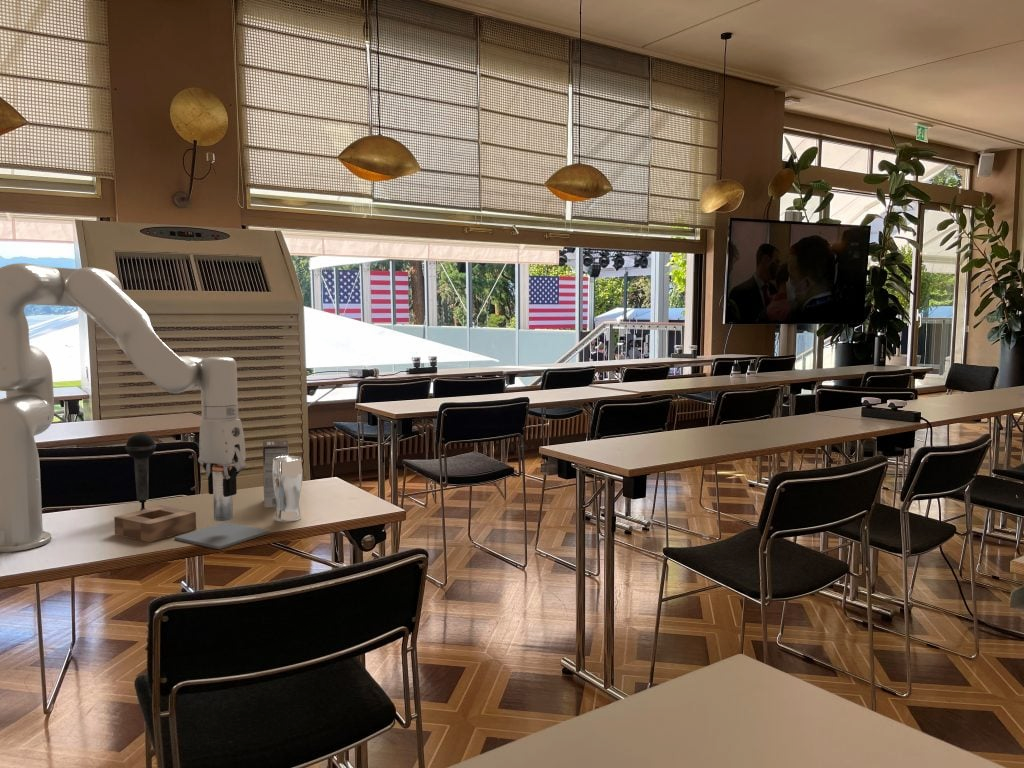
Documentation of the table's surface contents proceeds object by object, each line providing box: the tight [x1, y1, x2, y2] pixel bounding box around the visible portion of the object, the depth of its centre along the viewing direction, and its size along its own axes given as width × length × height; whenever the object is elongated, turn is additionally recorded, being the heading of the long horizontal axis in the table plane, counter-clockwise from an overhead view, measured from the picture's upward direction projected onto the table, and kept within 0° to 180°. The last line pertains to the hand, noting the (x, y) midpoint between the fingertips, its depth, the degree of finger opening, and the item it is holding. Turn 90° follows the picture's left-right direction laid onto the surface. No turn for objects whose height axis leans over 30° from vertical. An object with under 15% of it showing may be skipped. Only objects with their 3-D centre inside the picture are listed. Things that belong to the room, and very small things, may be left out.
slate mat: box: [174, 521, 270, 550], centre depth 169 cm, size 14×14×1 cm
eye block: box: [113, 505, 197, 543], centre depth 172 cm, size 12×12×4 cm
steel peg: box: [212, 465, 234, 522], centre depth 168 cm, size 4×4×12 cm
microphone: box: [124, 433, 157, 511], centre depth 187 cm, size 7×7×20 cm
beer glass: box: [273, 455, 303, 523], centre depth 183 cm, size 7×7×15 cm
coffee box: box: [262, 439, 290, 509], centre depth 199 cm, size 9×6×16 cm
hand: (222, 493), depth 168 cm, fingers closed on steel peg, 4 cm apart
